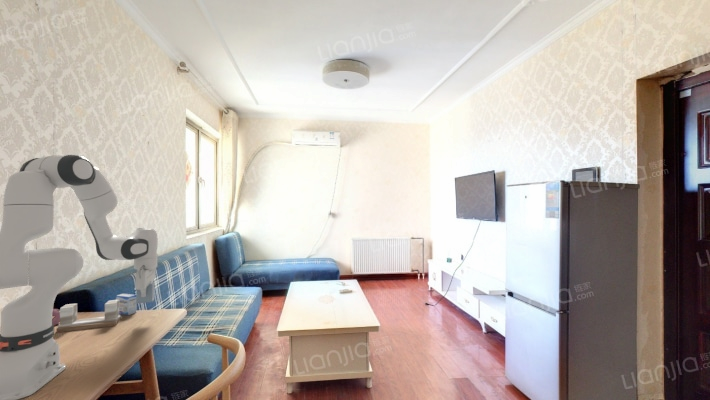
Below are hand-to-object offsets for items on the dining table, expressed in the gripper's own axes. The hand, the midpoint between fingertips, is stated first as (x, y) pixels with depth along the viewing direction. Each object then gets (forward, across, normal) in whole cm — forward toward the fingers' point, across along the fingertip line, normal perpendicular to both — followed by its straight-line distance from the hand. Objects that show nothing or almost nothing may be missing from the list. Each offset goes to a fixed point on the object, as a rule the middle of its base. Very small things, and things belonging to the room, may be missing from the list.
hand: (145, 294), depth 140 cm
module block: (+3, 0, 0) cm, 3 cm away
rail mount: (+12, +4, +21) cm, 24 cm away
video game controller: (+12, +12, +38) cm, 41 cm away
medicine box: (+12, +16, +11) cm, 23 cm away
